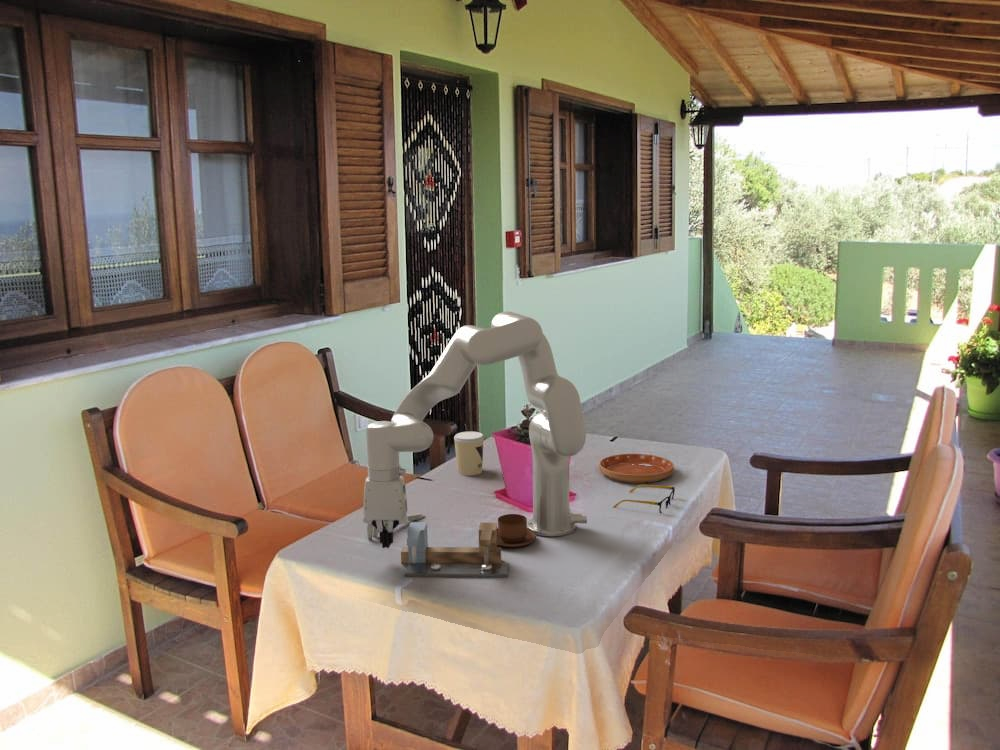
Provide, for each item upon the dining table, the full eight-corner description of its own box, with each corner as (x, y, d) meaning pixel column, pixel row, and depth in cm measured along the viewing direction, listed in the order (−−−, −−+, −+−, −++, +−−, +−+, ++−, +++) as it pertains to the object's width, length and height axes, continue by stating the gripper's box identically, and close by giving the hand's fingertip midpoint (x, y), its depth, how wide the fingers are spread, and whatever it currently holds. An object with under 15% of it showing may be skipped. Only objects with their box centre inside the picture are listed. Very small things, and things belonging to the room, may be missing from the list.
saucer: (600, 462, 300) (600, 451, 299) (672, 464, 297) (672, 453, 296) (597, 485, 278) (597, 473, 277) (675, 487, 275) (675, 475, 274)
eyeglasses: (662, 516, 253) (663, 502, 252) (612, 508, 259) (612, 495, 258) (677, 499, 265) (677, 486, 264) (629, 493, 271) (629, 480, 271)
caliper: (370, 541, 239) (369, 517, 237) (367, 540, 239) (366, 516, 238) (425, 517, 255) (424, 495, 253) (422, 516, 255) (421, 494, 254)
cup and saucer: (480, 539, 238) (480, 516, 237) (520, 529, 244) (520, 507, 243) (503, 554, 228) (503, 531, 227) (545, 544, 234) (544, 521, 233)
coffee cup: (484, 476, 288) (483, 439, 286) (454, 476, 288) (453, 439, 286) (485, 467, 297) (484, 430, 295) (455, 467, 297) (454, 431, 295)
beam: (501, 557, 226) (500, 522, 224) (498, 576, 215) (498, 539, 213) (403, 556, 227) (402, 522, 226) (396, 575, 217) (394, 539, 215)
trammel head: (428, 555, 227) (426, 522, 225) (421, 574, 216) (420, 539, 214) (412, 555, 227) (410, 522, 225) (404, 574, 217) (403, 539, 215)
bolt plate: (508, 566, 220) (508, 560, 220) (507, 577, 215) (507, 570, 214) (408, 566, 222) (408, 559, 222) (404, 576, 216) (404, 570, 216)
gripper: (417, 468, 224) (419, 540, 228) (356, 468, 225) (359, 539, 228) (412, 478, 216) (415, 552, 220) (349, 478, 217) (352, 551, 221)
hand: (386, 545), depth 224 cm, fingers closed
